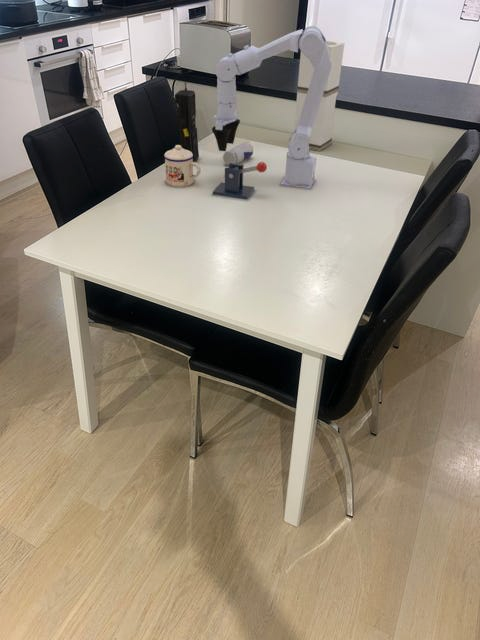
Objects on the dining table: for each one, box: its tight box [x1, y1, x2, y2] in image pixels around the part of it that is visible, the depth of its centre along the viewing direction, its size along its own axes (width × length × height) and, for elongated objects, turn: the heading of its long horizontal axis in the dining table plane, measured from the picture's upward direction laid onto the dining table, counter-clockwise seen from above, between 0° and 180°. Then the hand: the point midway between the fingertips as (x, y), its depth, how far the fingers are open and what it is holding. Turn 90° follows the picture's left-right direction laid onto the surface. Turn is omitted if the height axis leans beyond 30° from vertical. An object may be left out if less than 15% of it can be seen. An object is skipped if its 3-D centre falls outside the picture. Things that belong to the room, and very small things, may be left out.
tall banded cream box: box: [293, 40, 345, 152], centre depth 187 cm, size 11×11×35 cm
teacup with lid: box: [163, 144, 201, 187], centre depth 160 cm, size 12×9×12 cm
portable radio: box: [174, 82, 200, 163], centre depth 172 cm, size 8×6×25 cm
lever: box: [232, 161, 268, 174], centre depth 152 cm, size 12×3×3 cm, turn 72°
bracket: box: [212, 163, 255, 200], centre depth 156 cm, size 11×8×8 cm
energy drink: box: [222, 142, 254, 167], centre depth 178 cm, size 5×5×12 cm
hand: (226, 146), depth 162 cm, fingers open, 7 cm apart
